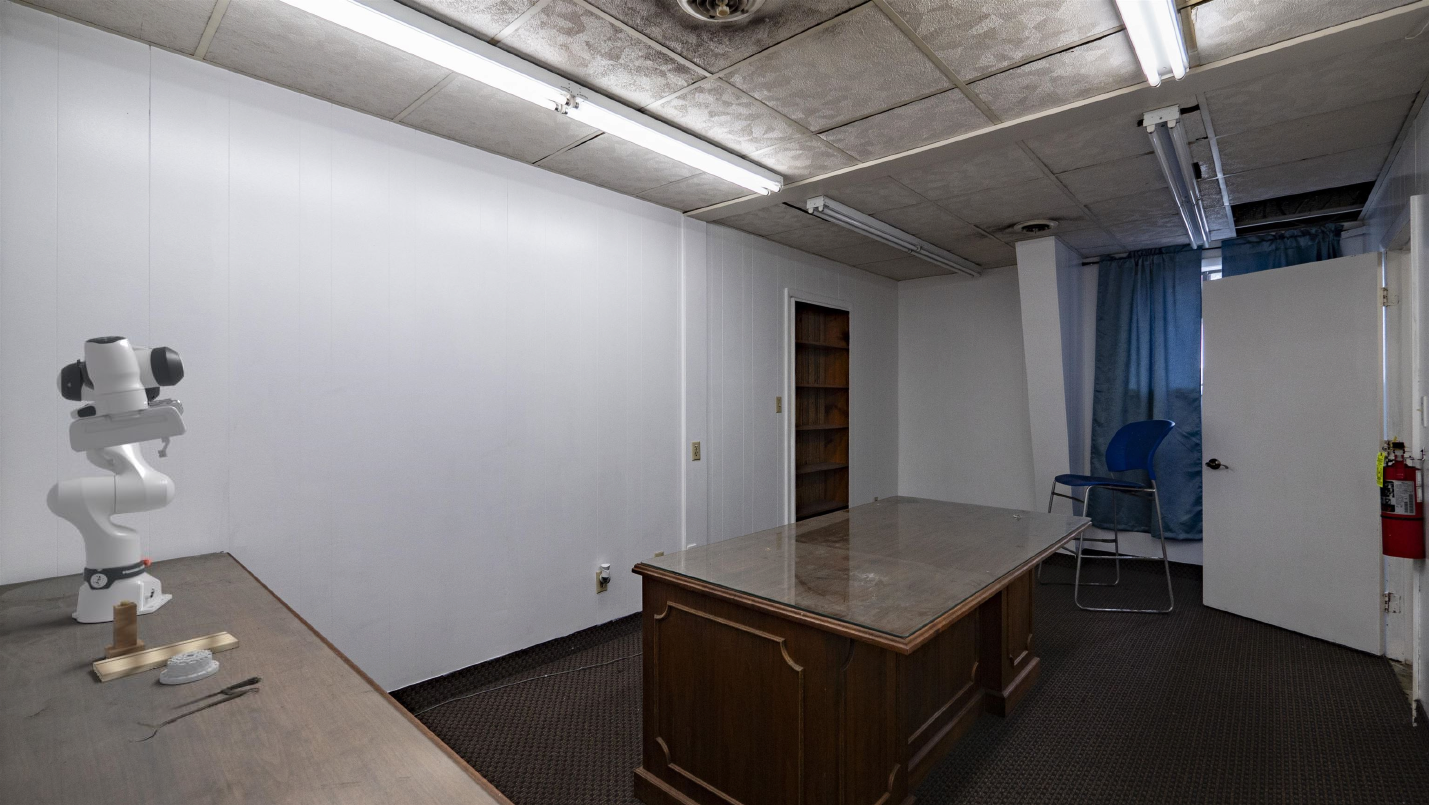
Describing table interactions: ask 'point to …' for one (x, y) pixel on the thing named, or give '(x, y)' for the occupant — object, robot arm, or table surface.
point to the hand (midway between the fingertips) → (137, 461)
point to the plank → (160, 656)
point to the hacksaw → (225, 690)
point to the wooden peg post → (124, 631)
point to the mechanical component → (189, 667)
